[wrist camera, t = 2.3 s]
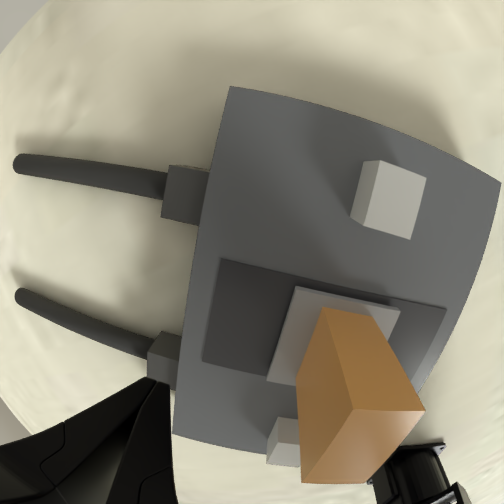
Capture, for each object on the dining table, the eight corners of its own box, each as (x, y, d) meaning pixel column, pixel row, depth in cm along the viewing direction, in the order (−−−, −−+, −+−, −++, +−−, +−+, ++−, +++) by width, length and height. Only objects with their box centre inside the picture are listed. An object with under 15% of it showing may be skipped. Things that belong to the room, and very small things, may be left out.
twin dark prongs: (233, 185, 15) (229, 186, 13) (198, 365, 18) (193, 378, 16) (23, 152, 15) (10, 153, 13) (23, 298, 18) (12, 305, 17)
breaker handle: (397, 307, 12) (464, 397, 6) (358, 389, 14) (386, 487, 7) (295, 285, 12) (311, 389, 6) (266, 375, 14) (259, 485, 7)
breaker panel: (470, 178, 13) (525, 186, 9) (360, 433, 19) (371, 481, 14) (201, 96, 13) (168, 66, 9) (157, 397, 19) (134, 445, 14)
